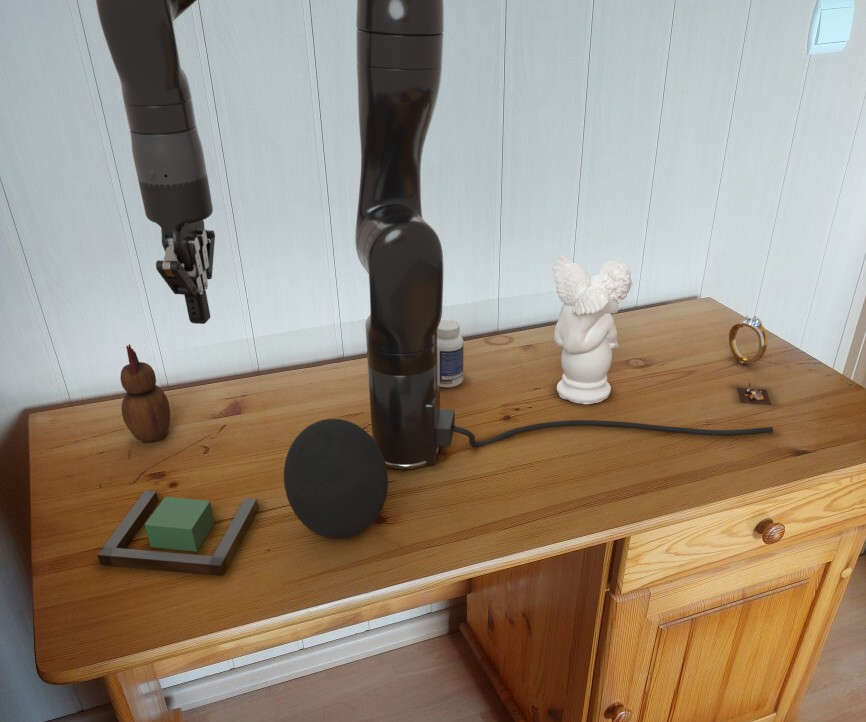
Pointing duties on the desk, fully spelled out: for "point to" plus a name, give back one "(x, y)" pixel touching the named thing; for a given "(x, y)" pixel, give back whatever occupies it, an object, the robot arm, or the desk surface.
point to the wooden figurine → (143, 401)
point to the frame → (166, 561)
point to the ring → (762, 336)
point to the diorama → (753, 395)
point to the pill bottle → (449, 354)
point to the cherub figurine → (588, 327)
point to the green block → (180, 524)
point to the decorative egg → (335, 478)
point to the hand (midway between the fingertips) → (200, 321)
